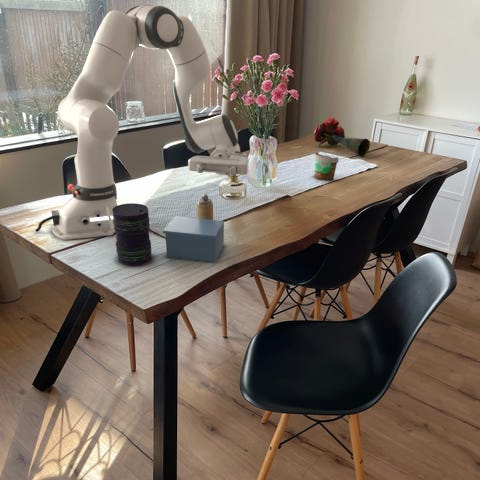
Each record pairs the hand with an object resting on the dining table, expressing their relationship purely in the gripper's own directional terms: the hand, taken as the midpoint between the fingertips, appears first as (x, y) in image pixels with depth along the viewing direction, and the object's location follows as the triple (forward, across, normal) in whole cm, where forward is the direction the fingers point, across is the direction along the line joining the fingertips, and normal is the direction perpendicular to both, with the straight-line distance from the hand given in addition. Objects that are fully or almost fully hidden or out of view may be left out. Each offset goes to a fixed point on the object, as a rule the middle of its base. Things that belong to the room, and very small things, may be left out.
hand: (213, 171), depth 157 cm
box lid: (+24, -1, +10) cm, 26 cm away
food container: (-64, +34, +18) cm, 75 cm away
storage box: (+24, 0, +17) cm, 30 cm away
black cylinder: (+34, -16, +18) cm, 41 cm away
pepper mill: (+12, 0, +17) cm, 21 cm away
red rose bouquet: (-123, +44, +18) cm, 132 cm away
